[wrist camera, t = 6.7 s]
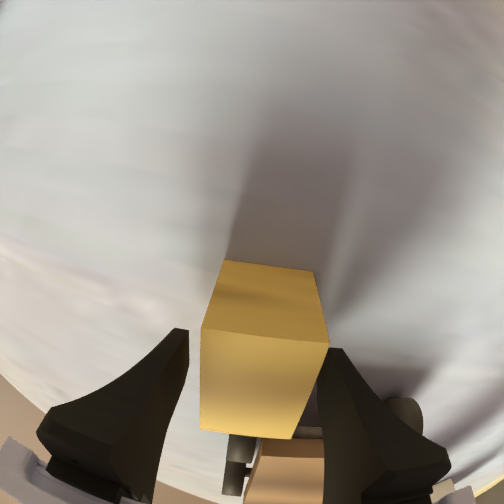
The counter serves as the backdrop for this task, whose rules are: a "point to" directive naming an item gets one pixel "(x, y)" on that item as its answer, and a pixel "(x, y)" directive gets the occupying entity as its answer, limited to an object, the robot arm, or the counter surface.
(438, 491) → the container
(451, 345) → the counter surface
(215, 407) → the block
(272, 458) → the trolley
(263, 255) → the counter surface
